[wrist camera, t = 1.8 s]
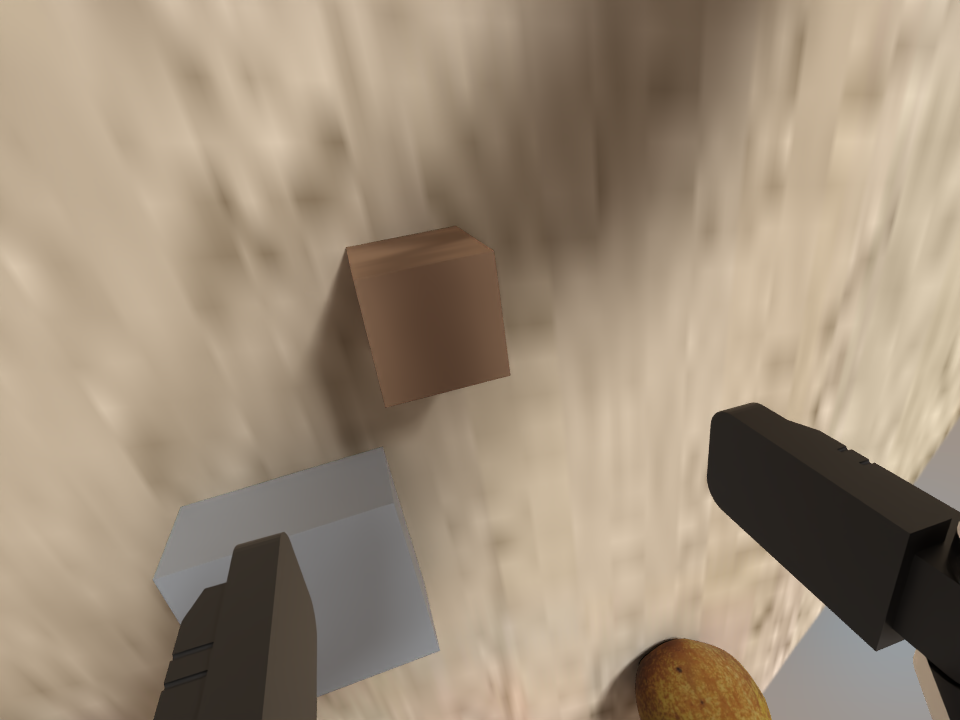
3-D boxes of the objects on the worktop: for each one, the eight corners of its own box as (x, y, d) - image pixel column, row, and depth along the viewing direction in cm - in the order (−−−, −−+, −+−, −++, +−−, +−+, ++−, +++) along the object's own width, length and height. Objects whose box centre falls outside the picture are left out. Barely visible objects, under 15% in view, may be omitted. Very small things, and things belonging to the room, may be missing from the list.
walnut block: (455, 225, 24) (494, 251, 18) (471, 326, 26) (510, 375, 21) (345, 247, 23) (353, 280, 18) (371, 350, 25) (385, 407, 20)
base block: (381, 443, 27) (393, 502, 23) (423, 578, 32) (440, 650, 27) (182, 503, 26) (152, 579, 21) (254, 638, 30) (242, 725, 25)
